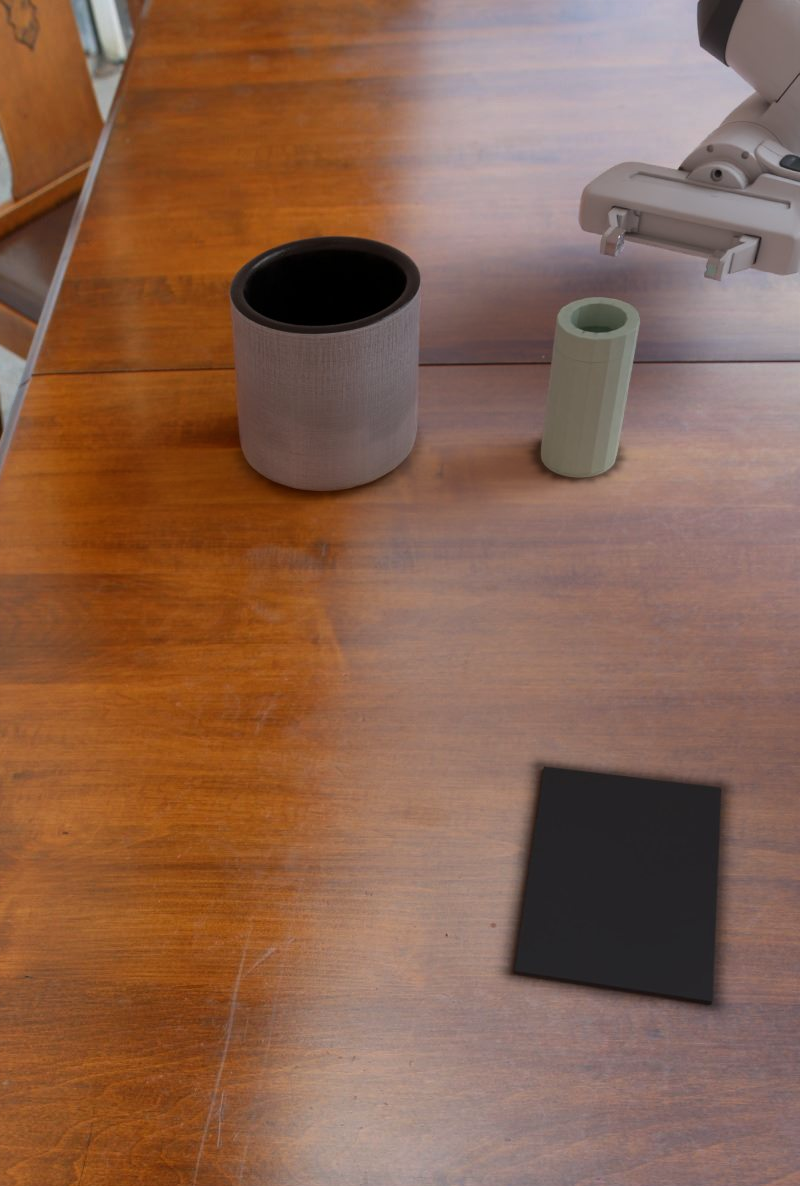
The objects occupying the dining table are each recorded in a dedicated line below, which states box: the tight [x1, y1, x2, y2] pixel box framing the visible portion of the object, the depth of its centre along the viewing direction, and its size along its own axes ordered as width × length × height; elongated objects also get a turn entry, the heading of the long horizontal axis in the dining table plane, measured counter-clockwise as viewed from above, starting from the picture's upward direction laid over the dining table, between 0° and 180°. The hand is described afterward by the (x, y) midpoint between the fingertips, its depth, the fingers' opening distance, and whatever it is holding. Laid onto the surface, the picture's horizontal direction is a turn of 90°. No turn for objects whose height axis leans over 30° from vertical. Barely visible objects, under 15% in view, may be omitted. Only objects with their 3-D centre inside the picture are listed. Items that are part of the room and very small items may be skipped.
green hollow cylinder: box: [540, 296, 641, 478], centre depth 112 cm, size 6×6×13 cm
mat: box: [513, 766, 722, 1005], centre depth 88 cm, size 18×12×1 cm, turn 165°
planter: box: [229, 235, 422, 492], centre depth 115 cm, size 16×16×16 cm
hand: (659, 259), depth 113 cm, fingers open, 8 cm apart
